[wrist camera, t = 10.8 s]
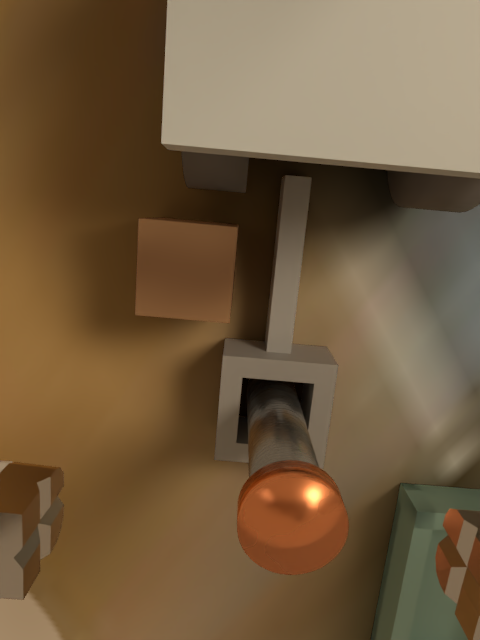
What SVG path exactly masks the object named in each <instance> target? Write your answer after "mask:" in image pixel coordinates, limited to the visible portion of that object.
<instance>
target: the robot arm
mask: <svg viewBox="0 0 480 640" xmlns="http://www.w3.org/2000/svg"><path fill="white" fill-rule="evenodd" d="M63 487H64V473H63V471H62V469H61V468H60V467H52V466H44V465H36V464H29V463H21V462H12V461H4V460H0V598H6V599H19V600H23V599H24V598H25V596H26V594H27V593H28V591H29V589H30V588H31V586H32V584H33V582H34V581H35V579H36V577H37V576H38V574H39V572H40V559H42V558H44V557H45V556H47V555H49V554H50V553H51V551H52V550H53V548H54V546H55V544H56V542H57V539H58V536H59V533H60V530H61V527H62V521H63V511H64V505H63V503H62V502H61V500H60V499H59V498H58V494H59V493H60V491H61V490H62V488H63ZM443 527H444V529H445V531H446V533H447V536H446V537H445V538H444V539H443V540H442V541H440V542H439V543H438V546H437V551H436V556H435V562H436V573H437V577H438V580H439V583H440V586H441V588H442V590H443V592H444V594H445V595H447V596H448V597H449V598H450V599H451V600H453V601H454V602H455V603H456V604H457V606H456V610H455V615H456V617H457V619H458V621H459V623H460V625H461V627H462V629H463V631H464V633H465V635H466V637H467V639H468V640H480V511H472V510H461V509H449V510H448V512H447V513H446V515H445V518H444V522H443Z"/></svg>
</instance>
